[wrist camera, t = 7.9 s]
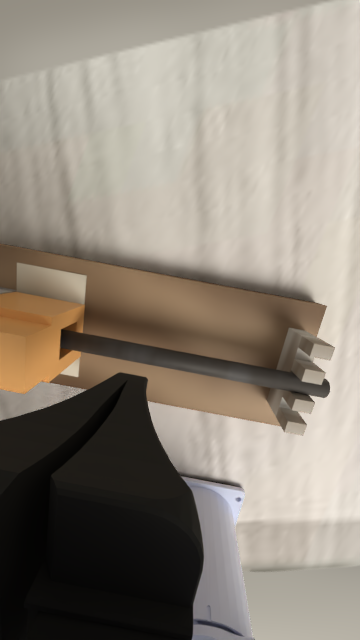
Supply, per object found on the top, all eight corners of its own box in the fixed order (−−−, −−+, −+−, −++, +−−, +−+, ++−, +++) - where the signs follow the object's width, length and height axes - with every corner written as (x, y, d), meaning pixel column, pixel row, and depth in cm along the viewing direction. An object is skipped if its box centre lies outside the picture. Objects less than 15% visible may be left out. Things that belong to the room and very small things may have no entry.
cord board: (278, 415, 20) (315, 477, 14) (-39, 355, 20) (-134, 392, 14) (315, 302, 18) (377, 321, 12) (-45, 235, 18) (-161, 220, 12)
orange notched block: (80, 356, 17) (24, 402, 11) (15, 344, 17) (-74, 383, 12) (84, 304, 16) (26, 326, 11) (15, 291, 16) (-81, 306, 11)
